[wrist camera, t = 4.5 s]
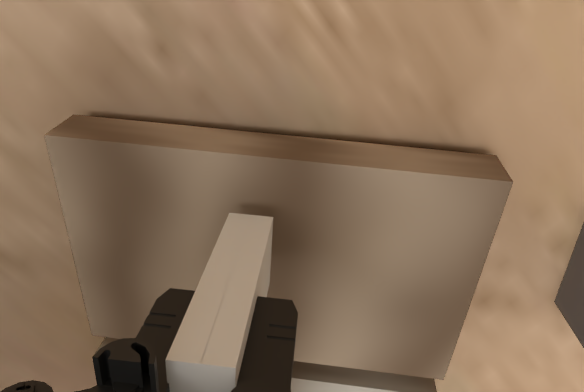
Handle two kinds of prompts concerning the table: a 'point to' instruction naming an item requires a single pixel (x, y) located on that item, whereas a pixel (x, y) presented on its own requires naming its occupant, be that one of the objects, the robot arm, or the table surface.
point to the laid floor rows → (347, 379)
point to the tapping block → (574, 290)
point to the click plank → (284, 231)
